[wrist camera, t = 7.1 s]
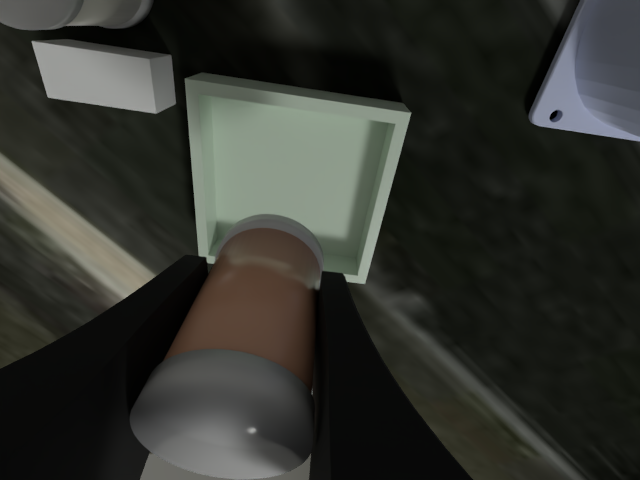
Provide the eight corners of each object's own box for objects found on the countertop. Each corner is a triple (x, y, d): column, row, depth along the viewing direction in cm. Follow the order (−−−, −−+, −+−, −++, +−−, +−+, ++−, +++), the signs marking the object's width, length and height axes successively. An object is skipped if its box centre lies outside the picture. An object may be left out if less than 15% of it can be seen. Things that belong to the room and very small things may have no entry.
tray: (403, 103, 15) (411, 112, 13) (362, 262, 20) (364, 284, 18) (202, 72, 15) (184, 78, 13) (211, 241, 20) (199, 261, 18)
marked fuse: (330, 220, 11) (323, 395, 6) (318, 303, 13) (305, 486, 8) (217, 207, 11) (110, 371, 6) (223, 292, 13) (146, 470, 8)
